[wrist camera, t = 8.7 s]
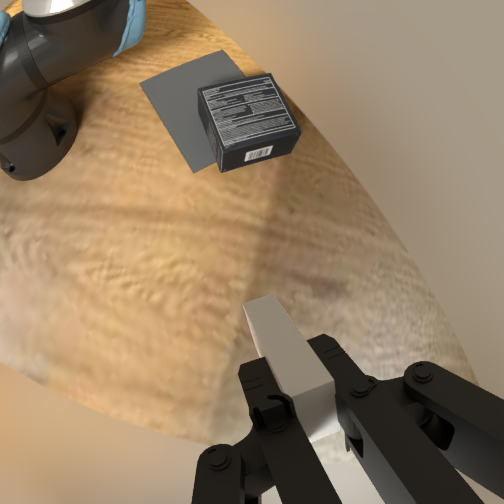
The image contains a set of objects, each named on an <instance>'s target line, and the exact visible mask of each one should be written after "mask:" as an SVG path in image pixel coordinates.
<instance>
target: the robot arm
mask: <svg viewBox="0 0 504 504" xmlns="http://www.w3.org/2000/svg"><path fill="white" fill-rule="evenodd" d="M22 9H23V11H21V12H20V13H18V14H16V15H15V16H13V17H10V15H9V13H6V12H5V11H0V168H1V169H2V170H3V171H4V172H5V173H6V174H8V175H9V176H10V177H12V178H13V179H16V180H20V181H27V180H32V179H35V178H38V177H40V176H42V175H44V174H45V173H47V172H48V171H50V170H51V169H52V168H53V167H55V166H56V165H57V164H58V163H59V162H60V161H61V160H62V158H63V157H64V156H65V155H66V153H67V152H68V150H69V149H70V147H71V145H72V143H73V141H74V139H75V136H76V133H77V129H78V116H77V112H76V110H75V108H74V107H73V105H72V103H71V101H70V100H69V99H68V98H67V97H66V96H64V95H63V94H61V93H60V92H58V91H56V90H55V89H53V88H52V87H50V86H52V85H53V84H55V83H57V82H59V81H61V80H63V79H65V78H67V77H69V76H71V75H73V74H75V73H77V72H79V71H82V70H84V69H86V68H88V67H90V66H92V65H95V64H97V63H99V62H102V61H104V60H106V59H109V58H113V57H115V56H116V55H118V54H119V53H121V52H123V51H125V50H127V49H129V48H132V47H134V46H135V45H137V44H138V43H139V42H140V40H141V39H142V37H143V35H144V32H145V26H146V3H145V0H23V1H22ZM242 304H243V307H244V310H245V314H246V317H247V320H248V323H249V327H250V330H251V333H252V337H253V340H254V343H255V346H256V349H257V352H258V354H259V356H260V358H259V359H256V360H253V361H250V362H247V363H244V364H241V365H240V369H239V372H238V376H239V379H240V382H241V385H242V388H243V391H244V394H245V397H246V400H247V403H248V406H249V416H250V418H251V420H252V423H253V426H252V429H251V431H250V433H249V434H248V435H247V436H246V437H245V438H244V439H243V440H241V441H240V442H238V443H236V444H235V445H233V446H231V445H229V444H218V445H213V446H211V447H209V448H208V449H206V450H205V451H204V452H203V453H202V454H201V455H200V456H199V459H198V462H197V468H196V475H195V482H194V489H193V496H192V503H191V504H261V494H262V493H264V492H265V491H267V490H268V489H270V488H272V487H273V486H274V485H276V488H277V491H278V493H279V496H280V499H281V501H282V504H342V502H341V500H340V498H339V496H338V495H337V493H336V491H335V489H334V487H333V485H332V483H331V481H330V480H329V478H328V476H327V474H326V472H325V470H324V468H323V466H322V464H321V462H320V460H319V458H318V456H317V455H316V453H315V451H314V449H313V447H312V445H311V442H313V441H316V440H318V439H321V438H323V437H326V436H328V435H330V434H333V433H335V432H337V431H339V430H340V428H339V423H340V425H341V426H342V428H343V430H344V432H345V445H346V450H347V452H348V451H350V448H351V450H352V451H353V453H354V454H355V456H356V458H357V459H358V461H359V463H360V464H361V466H362V467H363V469H364V471H365V472H366V474H367V475H368V477H369V479H370V480H371V482H372V483H373V485H374V486H375V488H376V490H377V491H378V493H379V494H380V496H381V498H382V499H383V501H384V502H385V504H484V503H483V501H482V500H481V499H480V498H479V496H478V495H477V494H476V493H475V492H474V491H473V489H472V488H471V487H470V486H469V485H468V483H467V482H466V481H465V480H464V479H463V478H462V476H461V475H460V474H459V473H458V472H457V471H456V469H457V470H459V471H460V472H462V473H463V474H465V475H466V476H468V477H469V478H471V479H472V480H474V481H475V482H477V483H478V484H480V485H482V486H483V487H485V488H486V489H488V490H490V491H491V492H493V493H494V494H496V495H497V496H499V497H501V498H502V499H504V400H503V399H501V398H499V397H497V396H495V395H494V394H492V393H489V392H488V391H486V390H484V389H482V388H480V387H478V386H476V385H474V384H472V383H471V382H469V381H467V380H465V379H463V378H461V377H459V376H457V375H455V374H453V373H452V372H450V371H448V370H446V369H444V368H442V367H440V366H438V365H436V364H434V363H431V362H428V361H420V362H416V363H413V364H412V365H410V366H408V368H407V369H406V370H405V372H404V376H403V377H399V378H394V379H390V380H377V379H376V378H375V377H372V376H369V375H365V374H364V373H363V372H362V371H361V370H360V368H359V367H358V366H357V365H356V364H355V363H354V361H353V360H352V359H351V358H350V357H349V355H348V354H347V353H345V351H344V350H343V348H342V347H340V345H339V344H338V343H337V341H336V340H335V339H334V338H332V337H330V336H328V335H326V334H322V335H319V336H317V337H314V338H311V339H309V340H306V339H305V338H304V337H303V335H302V334H301V332H300V331H299V330H298V328H297V327H296V325H295V324H294V322H293V321H292V320H291V318H290V317H289V315H288V314H287V312H286V311H285V310H284V308H283V307H282V305H281V304H280V302H279V301H278V300H277V298H276V297H275V295H274V294H273V293H272V294H269V295H266V296H263V297H260V298H257V299H254V300H251V301H248V302H245V303H242ZM455 468H456V469H455Z"/></svg>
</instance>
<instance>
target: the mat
mask: <svg viewBox="0 0 504 504" xmlns="http://www.w3.org/2000/svg"><path fill="white" fill-rule="evenodd" d="M240 78H246V77H245V75H244V74H243V73H242V72H241V71H240V70H239V68H238V67H237V66H236V65H235V64H234V63H233V61H232V60H231V59H230V58H229V57H228V56H227V55H226V53H225V52H224V51H223V50H220V51H217V52H214V53H211V54H209V55H206V56H203V57H200V58H198V59H195V60H192V61H190V62H187V63H185V64H182V65H180V66H177V67H175V68H172V69H170V70H167V71H165V72H163V73H160V74H158V75H156V76H154V77H151V78H149V79H147V80H145V81H143V82H141V83H140V85H141V87H142V89H143V90H144V92H145V94H146V95H147V97H148V99H149V100H150V102H151V104H152V105H153V107H154V109H155V110H156V112H157V114H158V115H159V117H160V119H161V120H162V122H163V124H164V125H165V127H166V129H167V130H168V132H169V134H170V135H171V137H172V139H173V140H174V142H175V144H176V145H177V147H178V149H179V150H180V152H181V153H182V155H183V157H184V158H185V160H186V162H187V163H188V165H189V167H190V168H191V170H192V172H193V173H195V172H197V171H199V170H201V169H203V168H205V167H207V166H209V165H211V164H213V163H215V162H216V159H215V156H214V154H213V151H212V148H211V145H210V143H209V140H208V137H207V135H206V132H205V130H204V127H203V124H202V121H201V119H200V117H199V114H198V95H197V89H198V88H201V87H205V86H209V85H213V84H217V83H222V82H226V81H231V80H236V79H240Z"/></svg>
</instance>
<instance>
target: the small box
mask: <svg viewBox="0 0 504 504" xmlns="http://www.w3.org/2000/svg"><path fill="white" fill-rule="evenodd" d="M197 95H198V114H199V117H200V119H201V121H202V124H203V127H204V130H205V132H206V135H207V137H208V140H209V143H210V145H211V148H212V151H213V154H214V156H215V159H216V162H217V164H218V167H219V170H220V173H223V172H226V171H229V170H233V169H236V168H239V167H243V166H246V165H250V164H253V163H256V162H260V161H264V160H267V159H271V158H274V157H278V156H282V155H286V154H290V153H291V152H292V151H293V149H294V147H295V145H296V143H297V141H298V139H299V137H300V135H301V134H302V130H301V128H300V127H299V125H298V124H297V121H296V120H295V118H294V116H293V114H292V112H291V110H290V108H289V106H288V104H287V102H286V101H285V99H284V97H283V95H282V93H281V91H280V89H279V87H278V86H277V84H276V82H275V80H274V78H273V76H272V74H271V73H267V74H261V75H256V76H250V77H246V78H240V79H236V80H231V81H226V82H222V83H217V84H213V85H209V86H205V87H201V88H198V89H197Z"/></svg>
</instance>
